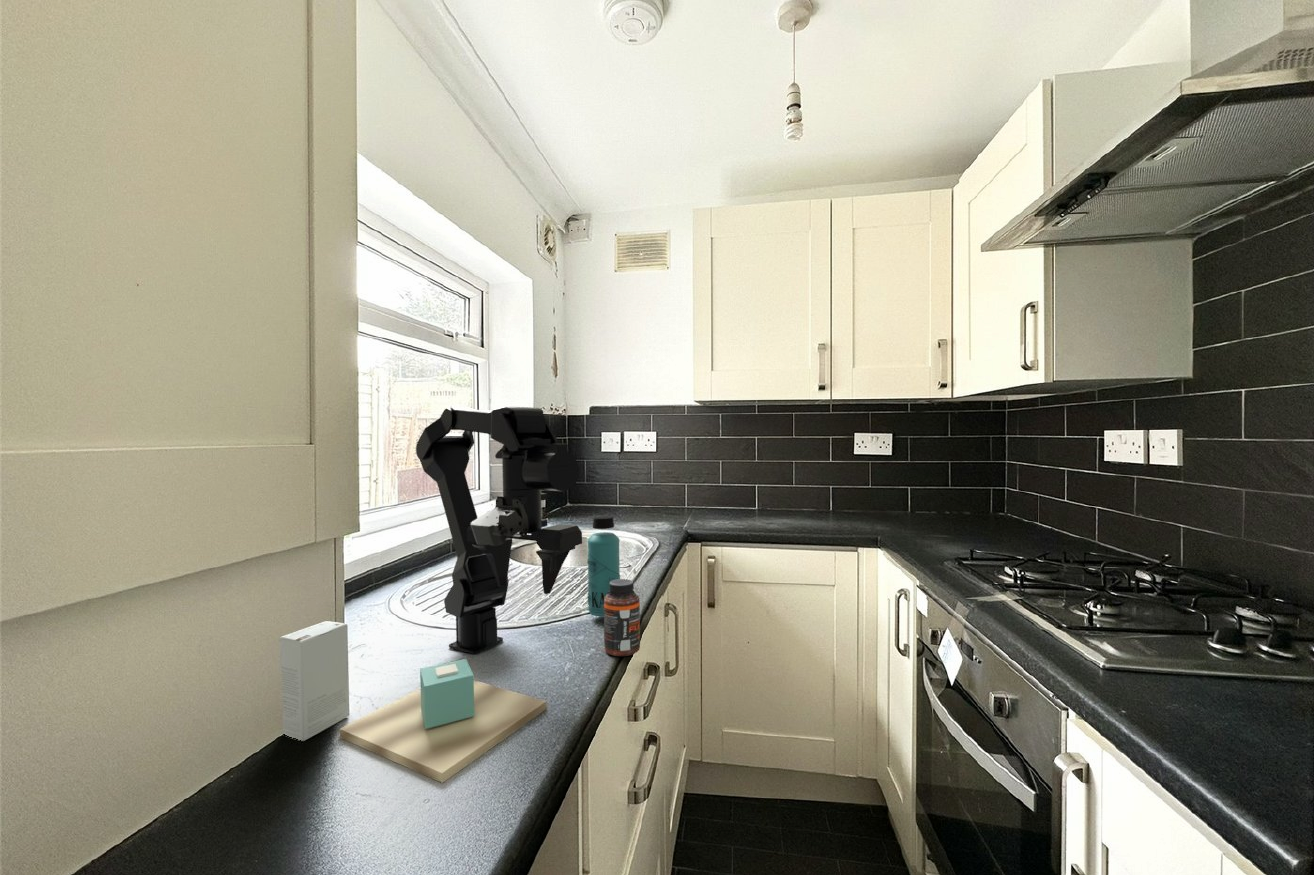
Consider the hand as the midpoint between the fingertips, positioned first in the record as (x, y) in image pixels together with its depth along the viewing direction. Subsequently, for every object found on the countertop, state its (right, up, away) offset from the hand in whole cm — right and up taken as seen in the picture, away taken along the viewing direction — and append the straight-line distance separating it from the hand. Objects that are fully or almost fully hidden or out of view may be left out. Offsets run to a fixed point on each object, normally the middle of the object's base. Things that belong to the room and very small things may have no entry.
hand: (524, 589), depth 79 cm
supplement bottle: (+15, -12, +6) cm, 20 cm away
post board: (-6, -12, -15) cm, 20 cm away
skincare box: (-22, -13, -15) cm, 29 cm away
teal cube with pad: (-6, -11, -15) cm, 19 cm away
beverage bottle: (+10, -12, +21) cm, 26 cm away
